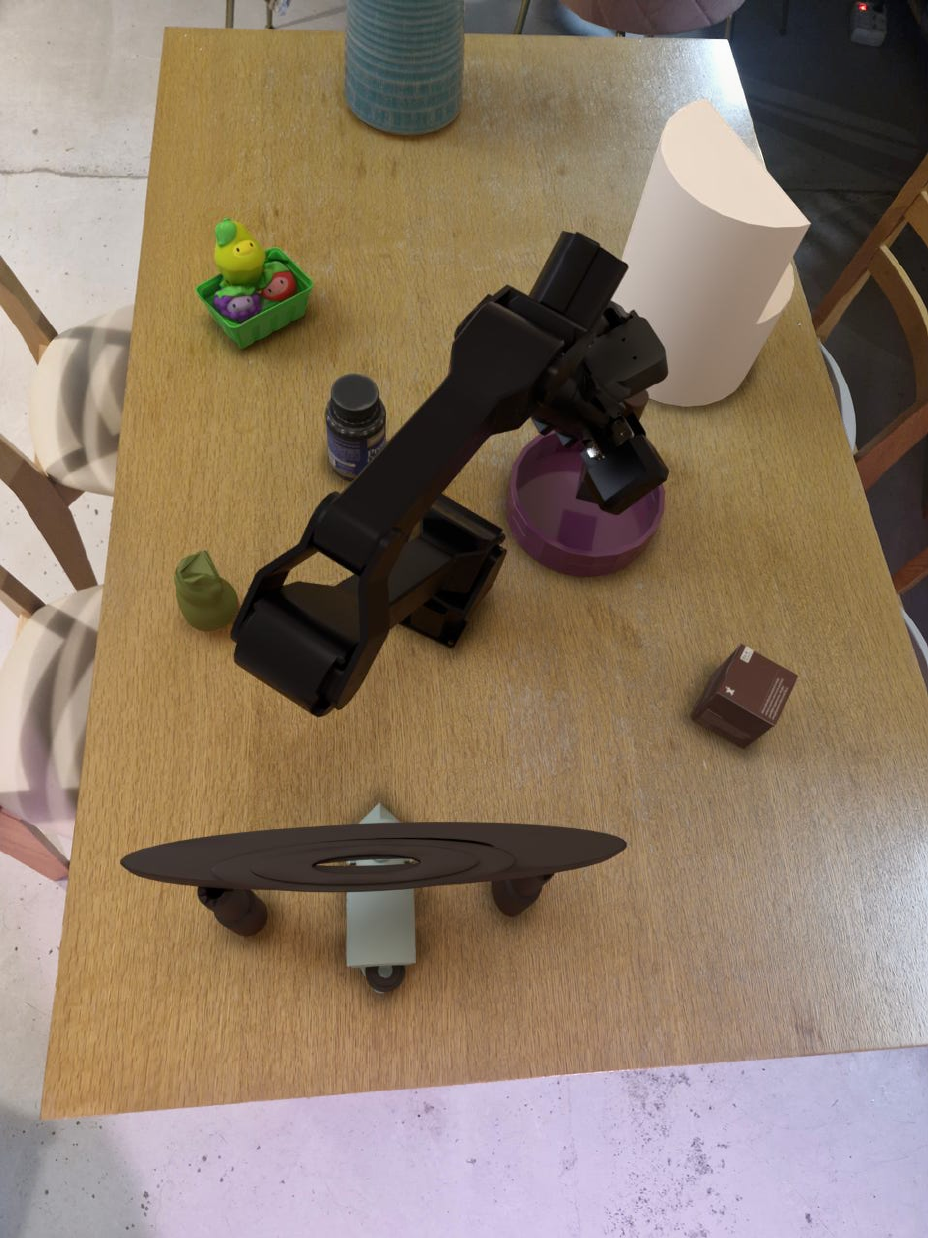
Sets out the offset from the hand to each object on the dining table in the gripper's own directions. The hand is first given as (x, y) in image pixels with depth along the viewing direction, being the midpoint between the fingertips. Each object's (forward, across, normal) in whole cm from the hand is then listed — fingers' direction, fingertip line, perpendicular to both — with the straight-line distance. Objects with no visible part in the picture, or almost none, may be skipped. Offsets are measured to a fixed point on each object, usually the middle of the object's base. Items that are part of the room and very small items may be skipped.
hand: (628, 436), depth 81 cm
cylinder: (+23, +18, -5) cm, 29 cm away
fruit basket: (-10, +37, +28) cm, 48 cm away
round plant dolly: (-16, -29, +35) cm, 48 cm away
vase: (+12, +69, +6) cm, 71 cm away
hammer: (+4, 0, +6) cm, 7 cm away
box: (+10, -26, +8) cm, 29 cm away
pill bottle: (-7, +14, +25) cm, 30 cm away
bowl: (+8, 0, +10) cm, 13 cm away
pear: (-20, +2, +39) cm, 44 cm away
